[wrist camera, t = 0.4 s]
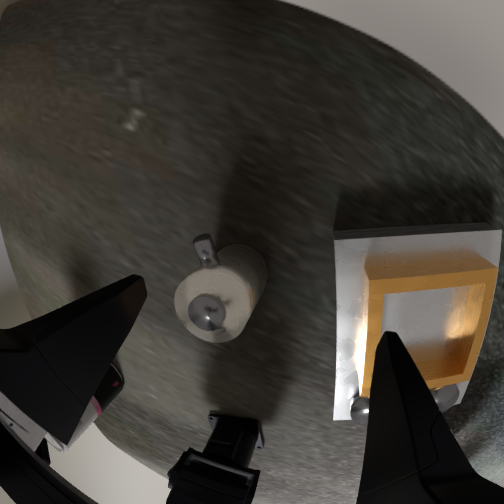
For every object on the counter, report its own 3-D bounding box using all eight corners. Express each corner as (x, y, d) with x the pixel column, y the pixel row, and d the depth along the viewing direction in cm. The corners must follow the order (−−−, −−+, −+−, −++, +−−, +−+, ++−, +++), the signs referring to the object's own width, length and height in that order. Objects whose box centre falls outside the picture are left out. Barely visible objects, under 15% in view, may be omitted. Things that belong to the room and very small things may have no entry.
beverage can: (124, 396, 35) (68, 459, 21) (91, 372, 36) (32, 428, 22) (126, 371, 33) (59, 442, 19) (91, 346, 33) (21, 405, 19)
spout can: (271, 298, 24) (249, 349, 17) (217, 299, 25) (180, 344, 18) (261, 215, 22) (230, 238, 15) (203, 222, 24) (154, 245, 16)
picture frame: (445, 403, 23) (456, 437, 17) (332, 416, 26) (330, 454, 21) (484, 222, 17) (519, 237, 12) (332, 230, 21) (335, 250, 16)
